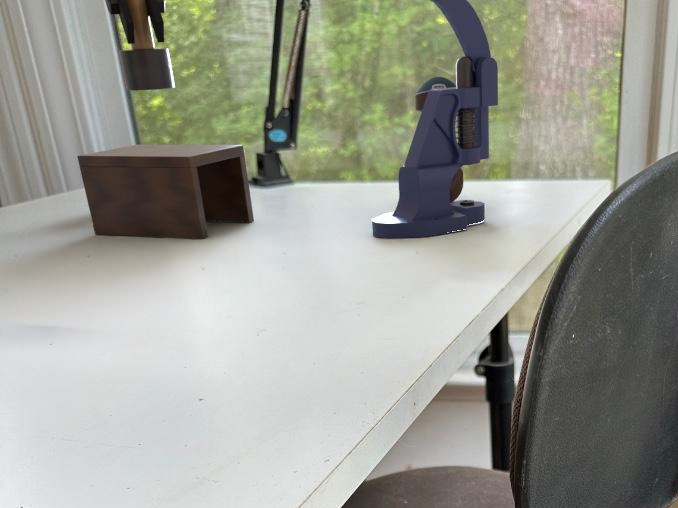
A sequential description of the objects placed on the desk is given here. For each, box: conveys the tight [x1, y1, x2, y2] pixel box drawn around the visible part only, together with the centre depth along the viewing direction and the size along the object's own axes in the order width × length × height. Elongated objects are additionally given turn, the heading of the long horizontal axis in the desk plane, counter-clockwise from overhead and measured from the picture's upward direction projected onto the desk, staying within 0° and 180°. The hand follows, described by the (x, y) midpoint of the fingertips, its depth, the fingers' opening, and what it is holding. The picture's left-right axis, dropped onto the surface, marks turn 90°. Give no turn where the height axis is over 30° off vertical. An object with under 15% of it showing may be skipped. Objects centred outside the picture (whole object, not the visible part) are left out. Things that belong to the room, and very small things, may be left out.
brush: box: [118, 0, 176, 91], centre depth 103 cm, size 6×6×16 cm
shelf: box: [76, 143, 255, 240], centre depth 113 cm, size 16×12×9 cm
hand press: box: [371, 0, 499, 239], centre depth 102 cm, size 19×9×28 cm, turn 125°
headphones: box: [414, 76, 464, 203], centre depth 121 cm, size 6×15×22 cm
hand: (145, 32), depth 101 cm, fingers closed on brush, 3 cm apart
